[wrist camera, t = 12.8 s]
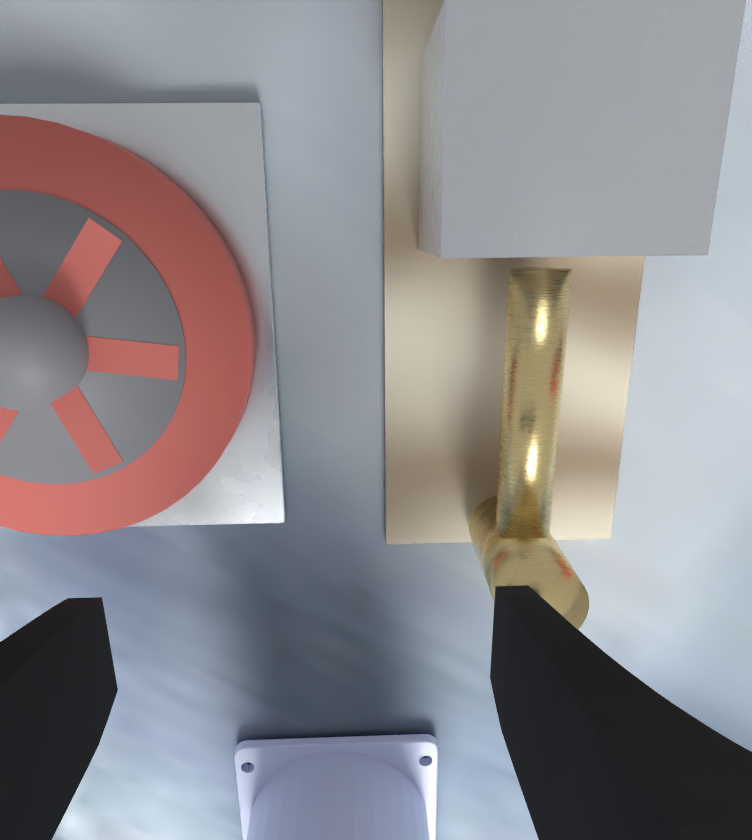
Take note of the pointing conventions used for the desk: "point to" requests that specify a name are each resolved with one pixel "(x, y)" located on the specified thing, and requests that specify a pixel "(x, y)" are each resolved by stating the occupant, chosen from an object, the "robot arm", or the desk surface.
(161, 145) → the wheel plate
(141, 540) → the desk surface
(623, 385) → the birch base board
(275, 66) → the desk surface
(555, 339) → the hook rod
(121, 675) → the desk surface
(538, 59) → the block
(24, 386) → the handwheel
